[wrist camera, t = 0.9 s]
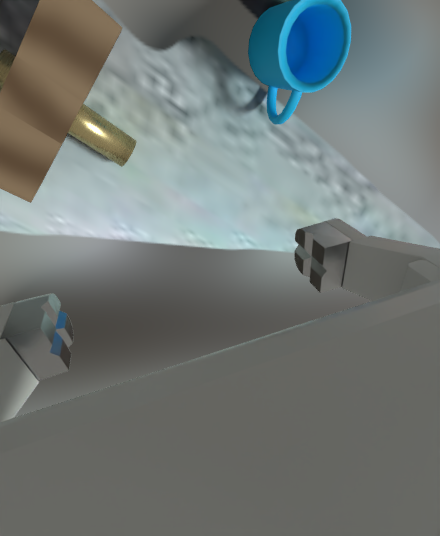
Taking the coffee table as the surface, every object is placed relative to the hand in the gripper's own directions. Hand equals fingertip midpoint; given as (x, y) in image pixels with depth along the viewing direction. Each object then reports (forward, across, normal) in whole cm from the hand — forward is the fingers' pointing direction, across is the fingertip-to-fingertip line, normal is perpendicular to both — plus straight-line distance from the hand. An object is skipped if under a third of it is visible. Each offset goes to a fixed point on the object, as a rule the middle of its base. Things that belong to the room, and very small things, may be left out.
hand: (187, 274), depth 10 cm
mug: (+33, -19, -4) cm, 38 cm away
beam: (+33, +8, -4) cm, 34 cm away
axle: (+33, +6, -2) cm, 34 cm away
